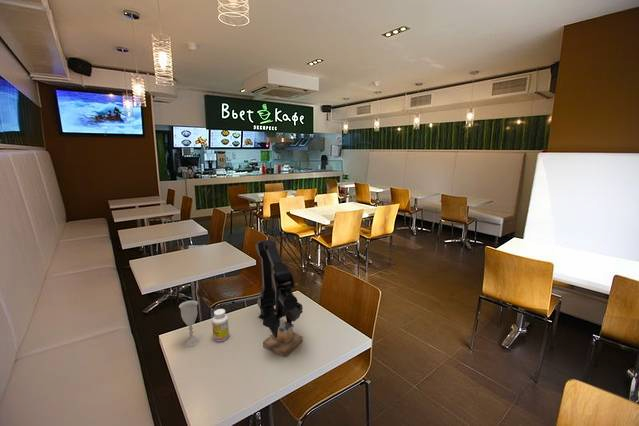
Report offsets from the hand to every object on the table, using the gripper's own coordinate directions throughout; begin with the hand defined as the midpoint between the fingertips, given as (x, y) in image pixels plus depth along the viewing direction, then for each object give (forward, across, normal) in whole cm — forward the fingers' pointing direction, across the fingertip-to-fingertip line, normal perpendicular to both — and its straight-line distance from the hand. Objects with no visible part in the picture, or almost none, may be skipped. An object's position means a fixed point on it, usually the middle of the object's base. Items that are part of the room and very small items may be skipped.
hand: (282, 331), depth 126 cm
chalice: (+6, -20, +34) cm, 40 cm away
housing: (+4, 0, 0) cm, 4 cm away
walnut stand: (+6, 0, 0) cm, 6 cm away
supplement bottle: (+6, -11, +26) cm, 29 cm away
